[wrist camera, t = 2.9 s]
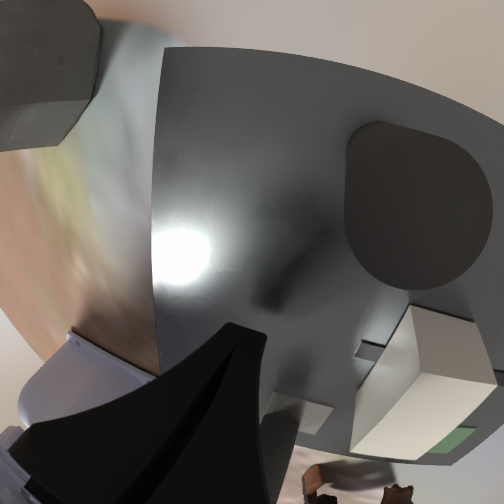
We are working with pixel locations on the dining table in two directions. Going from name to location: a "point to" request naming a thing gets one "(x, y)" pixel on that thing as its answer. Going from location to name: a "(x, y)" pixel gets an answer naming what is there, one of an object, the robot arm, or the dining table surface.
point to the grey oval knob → (277, 449)
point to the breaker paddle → (421, 386)
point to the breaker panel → (301, 231)
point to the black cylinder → (414, 206)
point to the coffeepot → (45, 69)
